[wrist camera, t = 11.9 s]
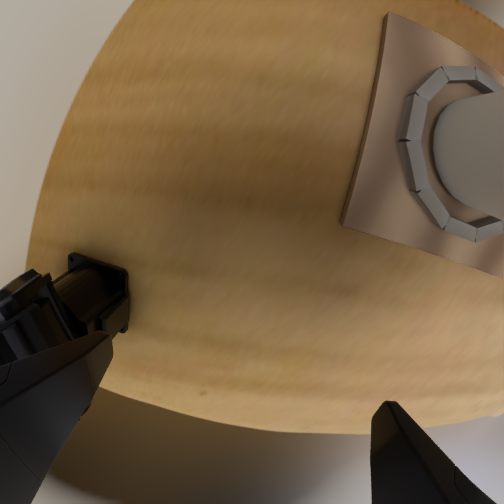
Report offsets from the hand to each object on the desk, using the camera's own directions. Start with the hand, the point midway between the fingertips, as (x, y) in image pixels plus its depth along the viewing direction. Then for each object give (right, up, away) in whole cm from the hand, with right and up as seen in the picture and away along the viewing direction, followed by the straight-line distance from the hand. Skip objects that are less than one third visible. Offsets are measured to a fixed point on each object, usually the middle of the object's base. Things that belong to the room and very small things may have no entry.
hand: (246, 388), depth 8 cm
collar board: (+16, +11, +8) cm, 21 cm away
